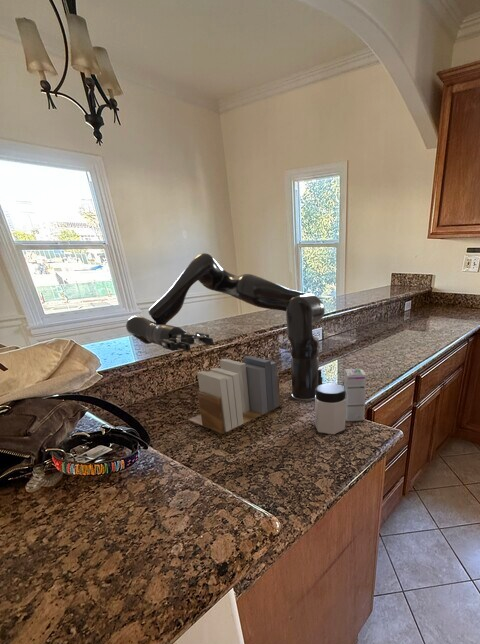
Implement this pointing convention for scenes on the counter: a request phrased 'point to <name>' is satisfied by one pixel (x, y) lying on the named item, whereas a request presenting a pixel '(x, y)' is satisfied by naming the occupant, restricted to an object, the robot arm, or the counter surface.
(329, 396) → the jar
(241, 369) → the thin white book
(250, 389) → the grey books
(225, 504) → the counter surface
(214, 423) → the book rack
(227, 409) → the white books
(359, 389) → the syrup box
